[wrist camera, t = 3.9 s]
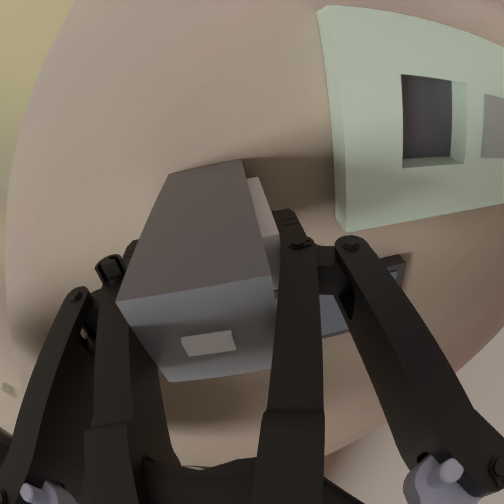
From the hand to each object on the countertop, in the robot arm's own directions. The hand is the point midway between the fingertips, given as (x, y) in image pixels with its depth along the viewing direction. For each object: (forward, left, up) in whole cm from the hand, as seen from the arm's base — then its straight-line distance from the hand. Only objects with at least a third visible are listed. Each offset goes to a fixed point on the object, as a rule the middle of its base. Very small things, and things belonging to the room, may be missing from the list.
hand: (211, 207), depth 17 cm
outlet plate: (+18, +4, -1) cm, 18 cm away
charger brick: (0, 0, -1) cm, 1 cm away
